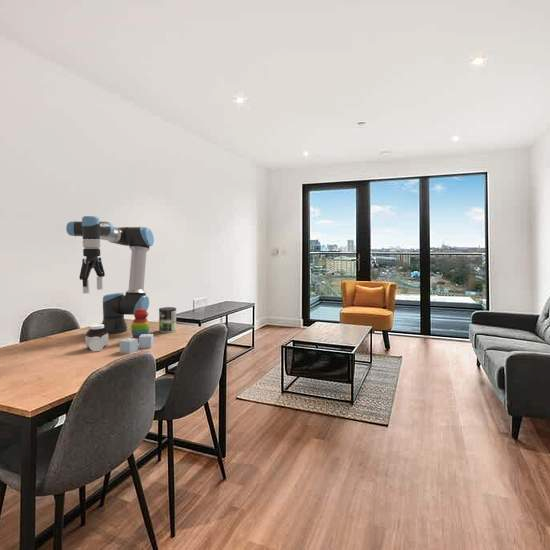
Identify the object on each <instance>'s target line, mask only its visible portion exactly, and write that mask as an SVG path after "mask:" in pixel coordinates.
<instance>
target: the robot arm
mask: <svg viewBox="0 0 550 550" xmlns="http://www.w3.org/2000/svg"><path fill="white" fill-rule="evenodd" d="M65 230H66V233H67V235H69V236H71V237H82V241H81V243H82V247H83V249H82V255H83V257H86V258H82V263H81V268H80V273H79V277H78V278H79V280H80V281H81V280H82V294H90V279H89V277H90V274H91V272H92V269H93V270H94V271H95V273H96V290H100V291H101V290H103V289H104V283H103V282H104V281H103V278H104V277H105V276H106V274H105V269H104V266H103V263H102V258H101V257H100V256H101V249H100V248H101V240H102V241H108V242H109V243H111V244H116V245H120V246H127V247H128V248H129V249H130V251H131V256H130V269H129V278H128V279H129V281H128V289H127V290H126V291H125V294H124V292H114V293H109V294H108V293H107V294H105V295H103V297H102V322H101V324H104V329H106V330H107V332H108V335H109V334H111V335H112V334H121V333H124V332H127V331H128V325H127V322H126V319H125V315H129V316H131V315H132V316H134V312H135V310H137V309H140V308H142V309H145V310H146V312H148V309H149V307H150V299H149V296H148V295H146V294H147V292H146V291H145V290H144V289H145V276H146V262H147V253H148V252H149V250H150V248H151V247H152V246H153V245H154V241H155V240H154V239H155V238H154V233H153V231H152V230H151V228H149V227H147V226H146V227H145V226H144V227H143V226H132V227H131V226H126V227H125V226H123V227H120V226H119V227H114V225H113V223H111V222H109V221H102V220H101V221H100V218H99V217H98V216H95V215H94V216H93V215H86V216H82V218H81V221H79V220H78V221H75V220H74V221H69V222H68V223H66V226H65Z"/></svg>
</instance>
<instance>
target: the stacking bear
mask: <svg viewBox="0 0 550 550" xmlns="http://www.w3.org/2000/svg"><path fill="white" fill-rule="evenodd" d="M133 316H134V319H133V321H132V323H131V328H130V330H131V334H132V338H134V339H138V343H139V336H140V335H141V334H150V324H149V321H148V316H149V312H148V311H146V310H145V309H142V308H140V309H137V310H135V312H134V315H133Z"/></svg>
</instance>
